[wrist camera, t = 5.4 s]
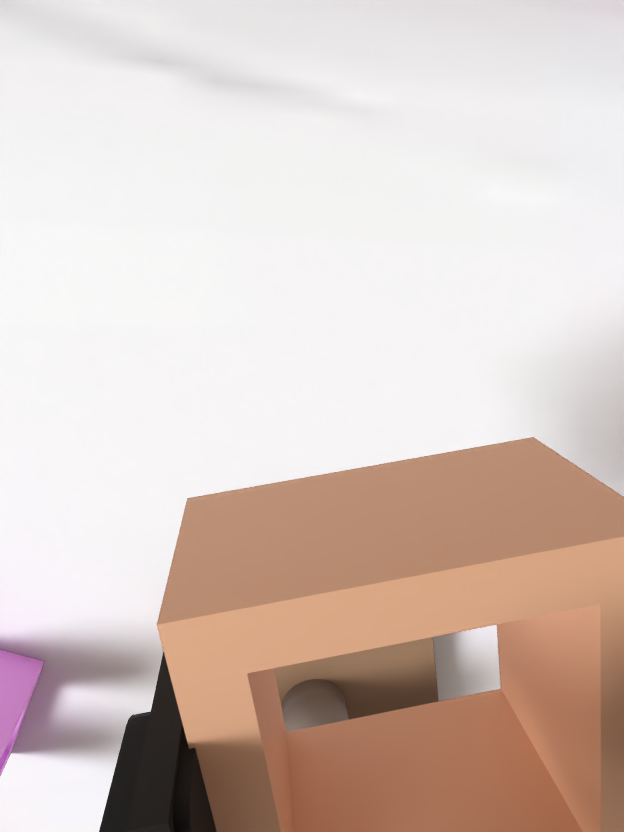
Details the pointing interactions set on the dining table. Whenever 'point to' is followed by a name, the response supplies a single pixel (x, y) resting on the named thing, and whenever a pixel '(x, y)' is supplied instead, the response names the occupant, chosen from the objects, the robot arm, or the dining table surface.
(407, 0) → the dining table surface
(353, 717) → the post stand
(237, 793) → the collar
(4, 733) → the bracket
